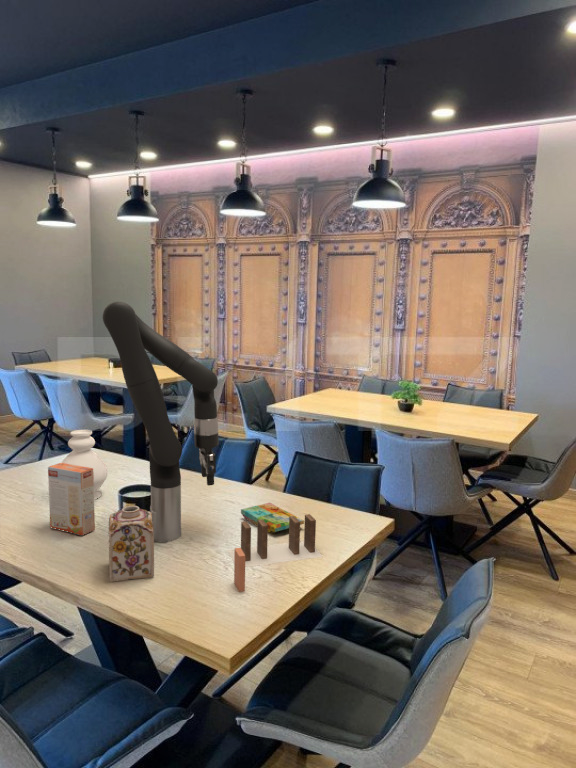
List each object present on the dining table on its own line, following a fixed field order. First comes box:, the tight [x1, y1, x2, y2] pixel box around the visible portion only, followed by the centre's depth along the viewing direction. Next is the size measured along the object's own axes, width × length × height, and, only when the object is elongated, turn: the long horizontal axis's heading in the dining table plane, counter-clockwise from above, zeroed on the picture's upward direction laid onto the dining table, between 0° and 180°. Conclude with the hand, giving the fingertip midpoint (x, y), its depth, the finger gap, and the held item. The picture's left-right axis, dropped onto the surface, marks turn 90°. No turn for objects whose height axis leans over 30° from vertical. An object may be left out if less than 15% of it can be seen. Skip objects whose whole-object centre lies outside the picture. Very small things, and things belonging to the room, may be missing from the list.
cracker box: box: [47, 462, 96, 536], centre depth 181 cm, size 14×6×21 cm, turn 65°
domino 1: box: [233, 547, 246, 593], centre depth 147 cm, size 2×5×10 cm, turn 19°
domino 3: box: [256, 519, 269, 559], centre depth 165 cm, size 2×5×10 cm, turn 19°
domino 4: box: [288, 515, 301, 555], centre depth 169 cm, size 2×5×10 cm, turn 19°
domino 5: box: [303, 513, 317, 553], centre depth 170 cm, size 2×5×10 cm, turn 19°
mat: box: [227, 540, 324, 568], centre depth 167 cm, size 26×12×1 cm, turn 109°
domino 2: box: [240, 520, 252, 561], centre depth 164 cm, size 2×5×10 cm, turn 19°
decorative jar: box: [108, 505, 155, 582], centre depth 154 cm, size 12×12×18 cm
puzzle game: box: [240, 502, 305, 534], centre depth 190 cm, size 12×5×20 cm
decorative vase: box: [61, 429, 109, 501], centre depth 210 cm, size 18×18×25 cm
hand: (207, 480), depth 180 cm, fingers open, 8 cm apart
